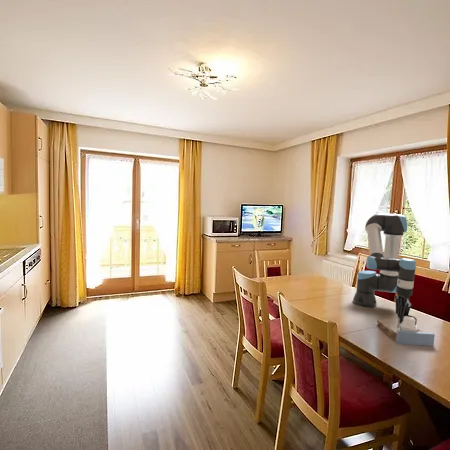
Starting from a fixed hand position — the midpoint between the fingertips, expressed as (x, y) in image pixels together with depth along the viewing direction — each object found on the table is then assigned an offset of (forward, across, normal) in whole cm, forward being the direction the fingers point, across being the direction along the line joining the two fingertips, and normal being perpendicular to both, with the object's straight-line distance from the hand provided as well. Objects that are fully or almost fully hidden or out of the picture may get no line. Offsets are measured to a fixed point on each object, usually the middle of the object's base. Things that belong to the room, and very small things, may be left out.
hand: (399, 328), depth 156 cm
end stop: (+2, +13, +1) cm, 13 cm away
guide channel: (+2, +2, +1) cm, 3 cm away
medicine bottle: (+2, +7, +1) cm, 8 cm away
